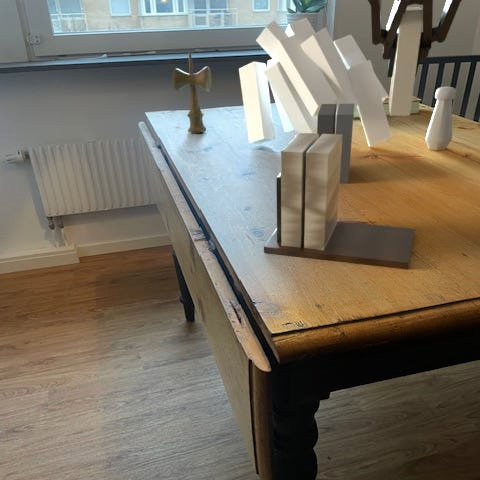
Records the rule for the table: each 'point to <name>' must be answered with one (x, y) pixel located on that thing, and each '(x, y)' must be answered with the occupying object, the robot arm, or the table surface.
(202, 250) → the table surface
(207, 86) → the kendama
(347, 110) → the grey books
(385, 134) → the pile of blocks
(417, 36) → the white book
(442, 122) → the salt shaker
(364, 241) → the book board
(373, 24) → the robot arm
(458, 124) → the table surface
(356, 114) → the hardcover book
